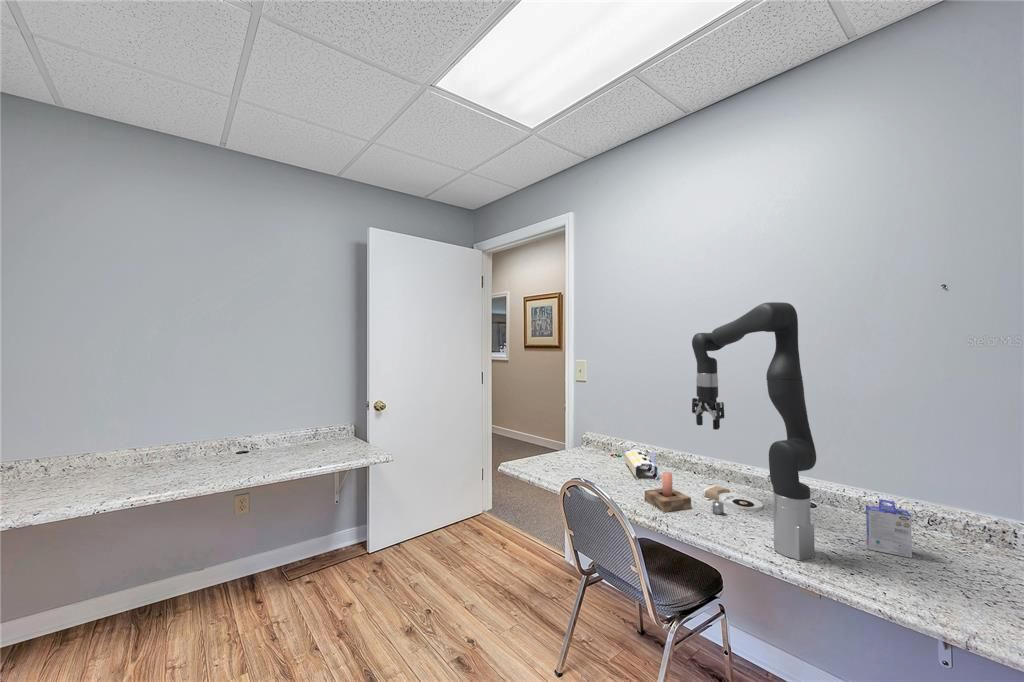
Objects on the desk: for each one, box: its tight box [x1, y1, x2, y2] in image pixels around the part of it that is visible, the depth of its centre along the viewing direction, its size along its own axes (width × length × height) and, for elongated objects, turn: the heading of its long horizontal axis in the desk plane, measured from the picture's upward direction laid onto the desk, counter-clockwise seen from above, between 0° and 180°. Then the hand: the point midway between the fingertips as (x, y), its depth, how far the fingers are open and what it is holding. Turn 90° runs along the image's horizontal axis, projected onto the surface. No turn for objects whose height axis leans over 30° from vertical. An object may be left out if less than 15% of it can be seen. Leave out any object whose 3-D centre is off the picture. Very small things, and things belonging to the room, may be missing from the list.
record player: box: [702, 484, 764, 511], centre depth 164 cm, size 12×3×20 cm
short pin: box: [712, 500, 725, 516], centre depth 152 cm, size 4×4×4 cm
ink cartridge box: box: [865, 498, 913, 559], centre depth 125 cm, size 10×6×14 cm, turn 58°
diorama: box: [624, 448, 659, 481], centre depth 202 cm, size 25×10×13 cm, turn 176°
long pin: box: [661, 471, 673, 497], centre depth 161 cm, size 4×4×12 cm
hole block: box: [644, 488, 692, 513], centre depth 161 cm, size 12×12×4 cm
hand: (707, 427), depth 159 cm, fingers open, 8 cm apart
